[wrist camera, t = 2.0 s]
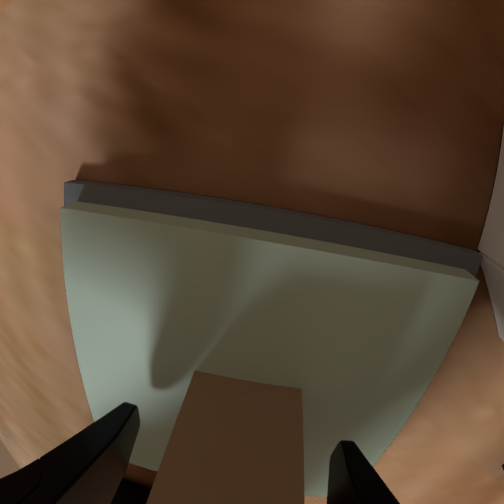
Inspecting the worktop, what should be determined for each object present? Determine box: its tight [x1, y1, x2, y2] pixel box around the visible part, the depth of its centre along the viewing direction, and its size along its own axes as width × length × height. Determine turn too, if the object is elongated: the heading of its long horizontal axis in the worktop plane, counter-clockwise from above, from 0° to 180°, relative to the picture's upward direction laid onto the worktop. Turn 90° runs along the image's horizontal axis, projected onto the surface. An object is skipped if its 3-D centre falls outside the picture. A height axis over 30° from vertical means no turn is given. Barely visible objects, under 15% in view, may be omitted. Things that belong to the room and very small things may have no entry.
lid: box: [61, 201, 479, 504], centre depth 7 cm, size 11×11×5 cm
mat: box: [64, 180, 483, 278], centre depth 10 cm, size 12×12×1 cm
